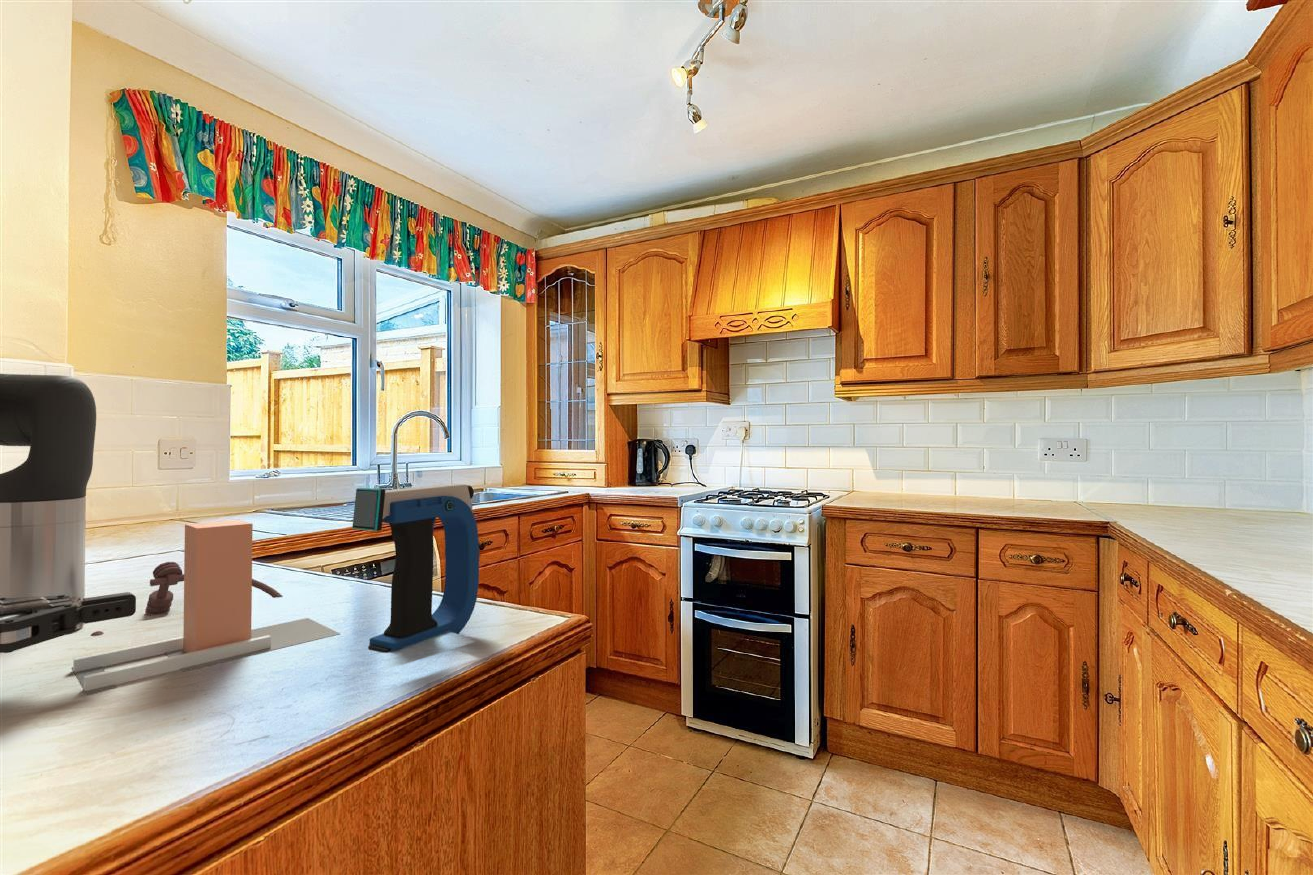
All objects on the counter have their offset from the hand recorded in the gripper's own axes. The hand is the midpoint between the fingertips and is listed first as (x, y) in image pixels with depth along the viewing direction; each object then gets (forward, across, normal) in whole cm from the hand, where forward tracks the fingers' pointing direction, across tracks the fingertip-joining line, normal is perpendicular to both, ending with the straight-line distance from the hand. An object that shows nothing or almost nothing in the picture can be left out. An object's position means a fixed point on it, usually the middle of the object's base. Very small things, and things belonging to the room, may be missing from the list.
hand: (133, 603), depth 59 cm
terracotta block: (+7, 0, +7) cm, 10 cm away
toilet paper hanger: (+9, +24, +9) cm, 27 cm away
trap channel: (+8, 0, +8) cm, 11 cm away
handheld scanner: (+24, -13, +8) cm, 29 cm away
